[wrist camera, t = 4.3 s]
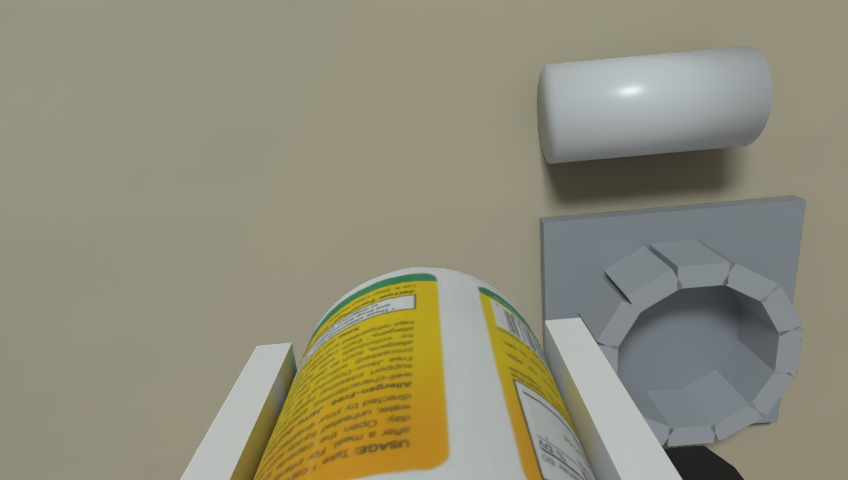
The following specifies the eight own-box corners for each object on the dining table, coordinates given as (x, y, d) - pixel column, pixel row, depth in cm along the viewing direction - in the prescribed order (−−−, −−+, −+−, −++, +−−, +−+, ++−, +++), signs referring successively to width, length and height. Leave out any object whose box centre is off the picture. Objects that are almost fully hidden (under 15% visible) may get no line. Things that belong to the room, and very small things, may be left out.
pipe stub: (538, 155, 25) (559, 172, 21) (536, 64, 24) (557, 64, 20) (713, 139, 25) (766, 153, 21) (720, 47, 24) (777, 44, 20)
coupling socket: (545, 430, 30) (562, 480, 26) (540, 218, 26) (559, 243, 23) (768, 412, 30) (816, 460, 26) (794, 195, 26) (855, 217, 22)
